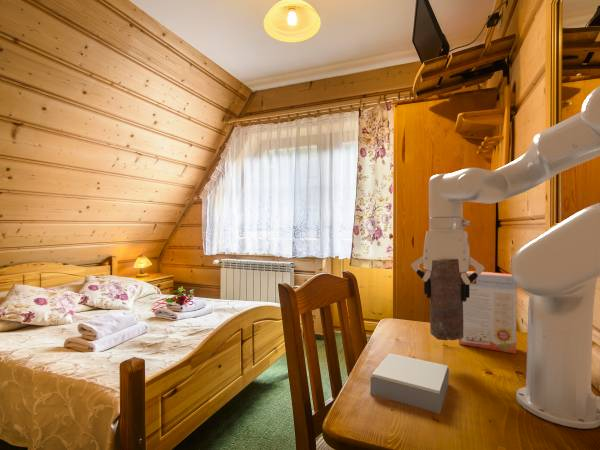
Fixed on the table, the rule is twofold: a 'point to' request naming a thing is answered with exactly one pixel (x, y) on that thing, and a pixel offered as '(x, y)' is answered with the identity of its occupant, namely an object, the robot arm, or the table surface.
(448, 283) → the candle
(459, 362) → the table surface
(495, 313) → the cracker box
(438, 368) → the podium
